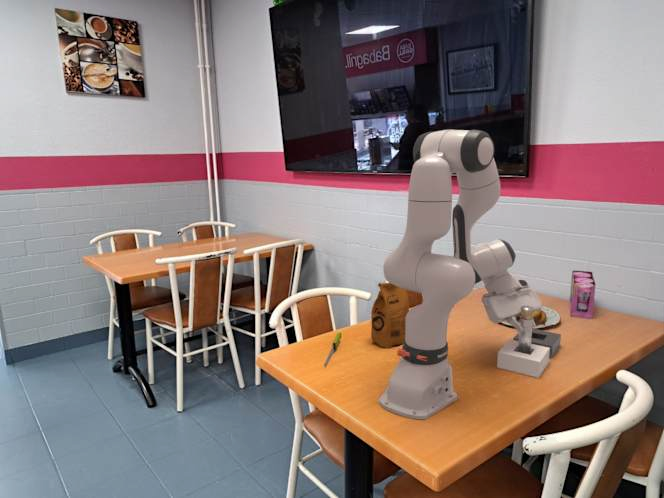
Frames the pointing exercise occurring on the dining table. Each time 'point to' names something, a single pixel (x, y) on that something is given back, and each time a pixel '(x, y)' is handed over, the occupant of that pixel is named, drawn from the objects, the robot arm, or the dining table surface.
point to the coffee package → (389, 315)
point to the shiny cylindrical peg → (526, 334)
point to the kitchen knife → (333, 347)
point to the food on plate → (543, 318)
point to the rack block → (523, 359)
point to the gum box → (582, 294)
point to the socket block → (544, 340)
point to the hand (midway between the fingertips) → (527, 329)
